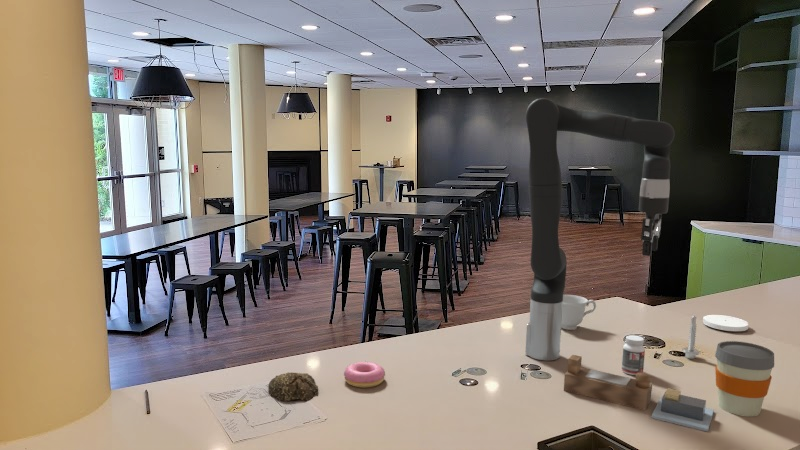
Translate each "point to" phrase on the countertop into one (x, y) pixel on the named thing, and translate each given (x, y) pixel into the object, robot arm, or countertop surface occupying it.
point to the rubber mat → (683, 418)
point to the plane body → (608, 385)
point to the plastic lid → (725, 323)
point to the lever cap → (682, 405)
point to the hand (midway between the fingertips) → (649, 252)
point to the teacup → (574, 311)
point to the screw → (691, 341)
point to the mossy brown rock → (293, 386)
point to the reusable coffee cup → (743, 376)
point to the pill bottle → (633, 355)
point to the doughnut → (364, 374)
